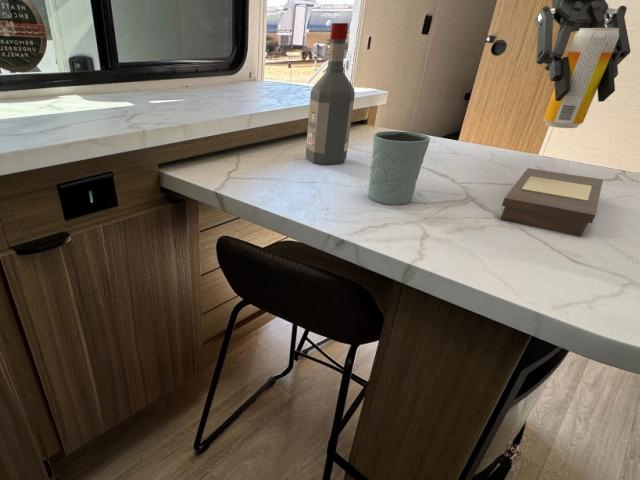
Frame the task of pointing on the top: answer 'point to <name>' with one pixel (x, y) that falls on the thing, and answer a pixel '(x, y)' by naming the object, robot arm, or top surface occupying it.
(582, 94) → the beer can
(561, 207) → the brown lidded keepsake box
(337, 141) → the liquor
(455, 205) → the top surface
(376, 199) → the green embossed cup
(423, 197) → the top surface
